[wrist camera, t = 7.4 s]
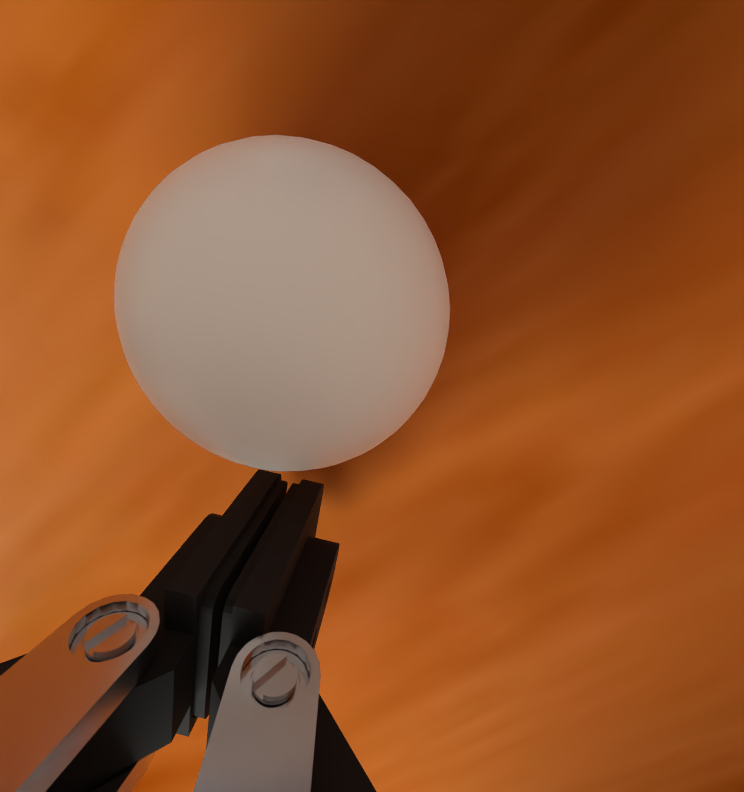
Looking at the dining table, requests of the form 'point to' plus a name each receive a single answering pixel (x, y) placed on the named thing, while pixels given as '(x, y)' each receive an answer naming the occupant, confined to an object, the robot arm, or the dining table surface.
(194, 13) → the dining table surface
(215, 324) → the cue ball
